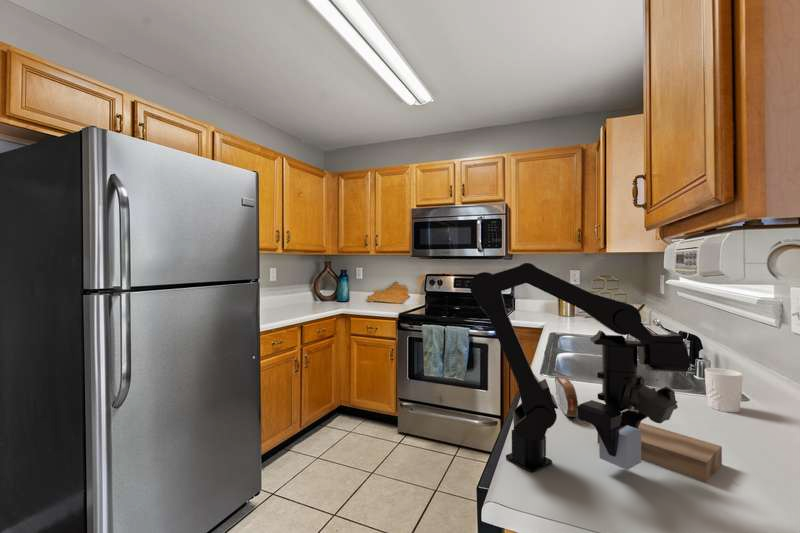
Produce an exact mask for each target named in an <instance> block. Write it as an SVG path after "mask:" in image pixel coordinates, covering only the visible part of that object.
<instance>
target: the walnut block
mask: <svg viewBox="0 0 800 533" xmlns="http://www.w3.org/2000/svg"><path fill="white" fill-rule="evenodd" d="M638 429H640V430H641V460H643V461H645V462H649V463H652V464H654V465H657V466H659V467H662V468H665V469H668V470H671V471H673V472H676V473H679V474H682V475H685V476H687V477H690V478H693V479H696V480H699V481H702V482H704V483H708V482H709V481H710V479H711V478H712V477H713V476H714V474H715V473H716V472H717V471H718V470H719V468H720V467H721V466H722V465H723V460H722V456H723V451H722V450H723V448H722V447H723V446H722V445H719V444H715V443H713V442H712V443H711V442H709V441H705V440H701V439H698V438H695V437H691V436H688V435H685V434H683V433H682V434H681V433H677V432H674V431H672V430H668V429H664V428H661V427H657V426H654V425H650V424H646V423H644V422H642V421H641V422H640V424H639V427H638ZM597 444H599V434H598V433H597Z"/></svg>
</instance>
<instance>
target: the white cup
mask: <svg viewBox="0 0 800 533" xmlns="http://www.w3.org/2000/svg"><path fill="white" fill-rule="evenodd" d="M743 376H744V373H741V371H740V372H739V371H737V370H733V369H727V368H720V367H706V368H704V383H705V393H706V394H705V395H706V400H707V401H706V402H707V406H708V407H709V408H711V409H714V410H715V411H716V410H717V411H719V412H720V411H721V412H725V413H731V414H732V413H740V412H741V404H742V403H741V402H742V394H743V378H744V377H743Z"/></svg>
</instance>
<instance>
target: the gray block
mask: <svg viewBox="0 0 800 533" xmlns="http://www.w3.org/2000/svg"><path fill="white" fill-rule="evenodd" d="M598 444H599V445H598V446H599V448H598V449H599V450H598V452H599V459H600V460H603V461H606V462H608V463H610V464H612V465H615V466H616V467H618V468H621V469H624V470H626V471H628V470H630V469H632V468H634V467H636V466H637V465H639V464H641V463H642V459H641V430H640V429H637V428H634V427H631V426H628V425H627V426H625V427H624V428H622V429H621V430H620V431H619V439H618V447H617V453H616V456H615V457H613V456H611V455H609V454H608V452H607V450H606V448H605V446H604V443H603V441H602V439H601V437H600V436H599V443H598Z"/></svg>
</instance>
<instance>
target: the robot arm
mask: <svg viewBox="0 0 800 533" xmlns="http://www.w3.org/2000/svg"><path fill="white" fill-rule="evenodd" d="M524 284H529V285H530V286H532V287H534V288H536V289H539V290H541V291H542V292H544V293H547V294H548V295H551V296H553V297H556V298H557V299H558V300H562V301H563V302H565V303H568V304H570V306H571V305H572V306H573V307H575V308H578V309H580V310H581V311H583V312H584V313H585V314H586V315H588V316H590V317H591V318H592V319H593V320H595V321H597V322H598V323H599V324H601V325H602V326H603V327H605V328H606V329H608V330H610V331H611V332H614V333H616V334H617V335H616V334H615V335H614V334H606V333H605V332H604V331H602V330H601V329H600V330H598V332H596V334H595V335H593V336H591V337H590V338H589V339H590V340H589V341H590V342H592V343H593V345H594V344H595V345H597V346H598V345H599V346H601V347H602V348H601V354H602V355H601V359H602V360H601V361H602V362H601V363H602V364H601V365H602V367H601V368H602V370H601V371H597V378H598V379H601V381H602V382H601V383H602V384H601V386H602V391H601V392H599V393H597V400H599V401H595V400H593V399H592V400H589V401H585V402H582V403H580V404H578V406H577V417H576V419H577V420H580V421H583V422H585V423H588V424H591V425H593V426H594V429H595V430H596V431H597V435H598V434H599V436H600V437H601V439H602V441H603V443H604V446H605V448H606V450H607V452H608V454H609V455H611V456H613V457H615V456H616V453H617V447H618V439H619V431H620V430H621V429H622V428H624V427H625V426H627V425H628V426H631V427H634V428H637V429H638V427H639V424H640V422H641V423H642V421H644V420H645V419H647V418H648V419H649V420H650V421H652V422H654V423H656V424H662V423H664V422H666V421H669V420H671V419H670V418H672V414H673V412H674V411H675V410H677V409H678V408H679V407H678V404H677V403H678V401H677V400H676V393H675V390H673V389H671V388H670V387H669V386H663V387H661V388H660V389H658V390H656V388H655V387H652V388H650V387H649V386H647V385H645V378H644V377H643V375H641V374H638V373H639V372H638V363H639V364H640V365H642V366H644V367H645V369H646V370H647V371H650V372H662V373H663V372H664V373H665V372H666V373H669V372H670V373H679V374H680V373H681V374H684V373H688V371H689V369H690V366H691V356H690V355H689V353H688V348H687V345H686V344H685V342H684V336H683V335H681V334H677V333H667V334H659V333H658V334H657V333H656V334H655V333H651V332H650V331H649V330H648V329H647V327H646V326H645V324H643V322H642V315H641V313H640V310H639V309H638V308H637V307H635V306H634V305H632V304H630V303H627V302H623V301H619V300H617V299H612V298H609V297H605V296H601V295H599V294H598V295H597V294H595V293H591V292H590V291H587V290H585V289H583V288H581V287H579V286H577V285H574V284H573V283H571V282H568V281H566V280H564V279H561V278H560V277H558V276H555V275H553V274H551V273H549V272H547V271H545V270H542V269H540V268H539V267H537V266H535V264H532V263H529V262H523V263H522V264H519V265H517V266H515V267H512V268H509V269H505V270H502V271H500V272H495V273H492V272H489V271H482V272H479V273H477V274H475V275H474V276H473V277H472V278H471V280H470V284H469V291H470V293H471V295H472V297H473V298H474V299H475V301H476V303H477V304H478V305H479V307H480V308H481V310H482V311H483V313H484V314H485V315H486V316H487V318H488V319H489V321H490V323H491V326H492V329H493V330H494V333H495V336H496V337H497V340H498V342H499V345H500V346H501V348H502V351H503V354H504V356H505V358H506V361H507V363H508V365H509V368H510V369H511V371H512V375H513V377H514V379H515V382H516V384H517V387H518V393H519V397H520V402H521V403H520V404H519V405H518V406H517V407H515V408H514V409H513V410H512V418H513V419H512V422H513V423H512V424H513V429H511V452H510V453H508V454H505V459H506V460H508V461H510V462H512V463H514V464H515V465H517V466H519V467H521V468H523V469H524V470H526V471H528V472H529V473H533V472H536V471H538V470H540V469H542V468H545V467H546V466H550V465H551V464H553V459H551V458H548V457H546V456H547V436H546V433H547V431H548V429H551V428H552V427H553V426H554V425H555V423H556V420H557V412H556V410H558V409H559V407H558V406H559V405H558V403H557V401H556V398H555V396H554V395H553V394H552V393H551V389H550V387H549V384H548V382H547V379H546V378H544V379H542V380H539V379H538V377H537V376H536V374H535V373H534V372H533V368H532V367H531V365H530V362H529V360H528V357H527V356H526V353H525V350H524V348H523V346H522V344H521V342H520V340H519V337H518V335H517V333H516V330H515V328H514V326H513V323H512V322H511V319H510V316H509V314H508V313H507V310H506V305H505V300H504V297H503V296H504V295H503V291H506V290H510V289H511V288H516V287H519V286H521V285H524ZM626 335H628V336H630V337H632V338H634V339H636V340H629V339H628V340H626V338H625V336H626ZM600 401H603V402H604V403H603V402H600Z"/></svg>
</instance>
